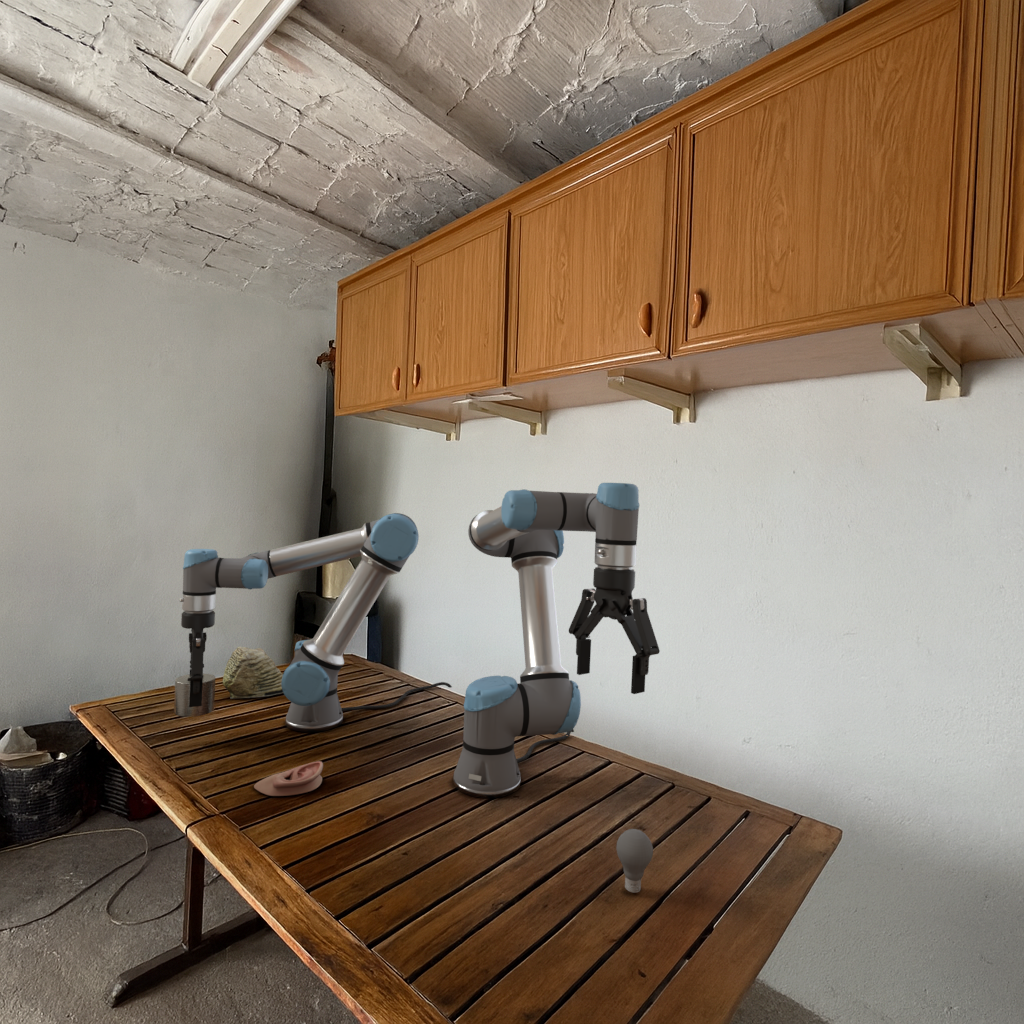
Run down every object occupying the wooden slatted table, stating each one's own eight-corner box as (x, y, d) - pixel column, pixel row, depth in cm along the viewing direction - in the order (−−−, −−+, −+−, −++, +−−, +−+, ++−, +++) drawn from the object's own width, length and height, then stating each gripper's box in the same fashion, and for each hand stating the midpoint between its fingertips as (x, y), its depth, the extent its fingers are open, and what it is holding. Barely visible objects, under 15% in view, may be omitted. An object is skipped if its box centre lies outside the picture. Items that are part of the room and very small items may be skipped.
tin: (215, 714, 157) (216, 681, 157) (174, 718, 153) (175, 685, 153) (212, 703, 165) (214, 672, 165) (173, 707, 161) (174, 675, 161)
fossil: (218, 695, 195) (220, 647, 195) (278, 685, 208) (279, 640, 207) (228, 703, 189) (230, 653, 188) (289, 692, 201) (290, 645, 201)
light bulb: (610, 879, 108) (613, 822, 108) (644, 879, 109) (647, 822, 109) (619, 902, 102) (622, 840, 102) (655, 901, 103) (658, 840, 103)
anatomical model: (246, 773, 134) (276, 753, 145) (245, 792, 134) (276, 770, 145) (303, 782, 131) (330, 760, 142) (302, 801, 131) (329, 777, 142)
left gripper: (181, 604, 166) (178, 689, 167) (181, 619, 147) (178, 715, 148) (213, 603, 170) (209, 686, 170) (217, 618, 151) (213, 712, 151)
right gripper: (553, 560, 123) (549, 669, 124) (655, 576, 104) (649, 705, 104) (581, 559, 128) (576, 664, 128) (683, 574, 108) (677, 697, 109)
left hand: (195, 700), depth 159 cm, fingers closed on tin, 9 cm apart
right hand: (609, 682), depth 116 cm, fingers open, 13 cm apart
